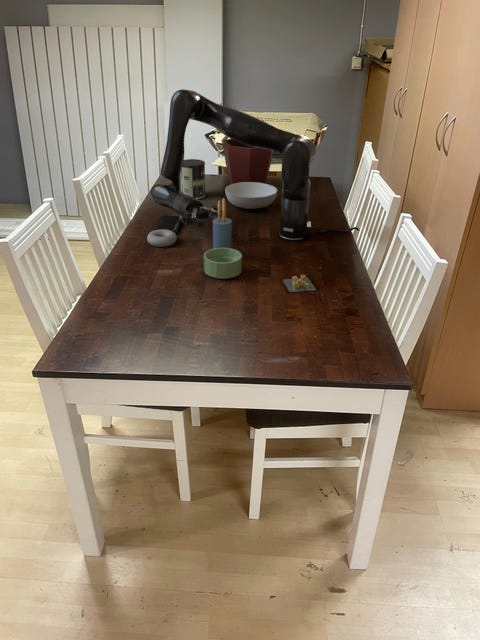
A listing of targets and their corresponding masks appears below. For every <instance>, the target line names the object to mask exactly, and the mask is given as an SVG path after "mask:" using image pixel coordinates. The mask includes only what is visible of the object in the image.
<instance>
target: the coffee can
mask: <svg viewBox="0 0 480 640" xmlns="http://www.w3.org/2000/svg"><path fill="white" fill-rule="evenodd" d="M205 167H206V162H205V161H204V160H203V159H198V158H197V159H196V158H189V159H188V158H187V159H184V161H183V165H182V169H181V173H180V192H182V193H184V194H187V195H189V196H191V197H193V198H195V199H197V200H200V199H204V198H205V197H206V168H205Z"/></svg>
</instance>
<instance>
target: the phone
mask: <svg viewBox="0 0 480 640" xmlns="http://www.w3.org/2000/svg"><path fill="white" fill-rule="evenodd" d="M182 223H183V222H182V221H180V220H179V215H162V216H161V217H160V218H159V220H158V222H157V224H156V225H155V226H154V229H153V231H155V230H160V229H166V230H170V231H173V232H174V233H175V234H176V235H177V232H178V230H179V228H180V226H181V224H182Z"/></svg>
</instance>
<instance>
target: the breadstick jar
mask: <svg viewBox="0 0 480 640" xmlns="http://www.w3.org/2000/svg"><path fill="white" fill-rule="evenodd" d="M221 200H222V201H221ZM221 200H218V201H217V207H218V218H216V219H212V249H213V248H231V249H233V247H232V245H233V220H232V219H231V218H228V217H227V203H226V198H225V197H223V198H221ZM221 209H222V218H221Z"/></svg>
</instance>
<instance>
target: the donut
mask: <svg viewBox="0 0 480 640" xmlns="http://www.w3.org/2000/svg"><path fill="white" fill-rule="evenodd" d="M177 239H178V237H177V233H176V234H175V233H174V232H173V231H170V230H166V229H160V230H155V231H154V230H152V231H150V232H149V233H148V234H147V236H146V240H147V243H148V244H150V245H151V246H153V247H157V248H165V247H170V246H172V245H174V244H175V243H176V242H177Z"/></svg>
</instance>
